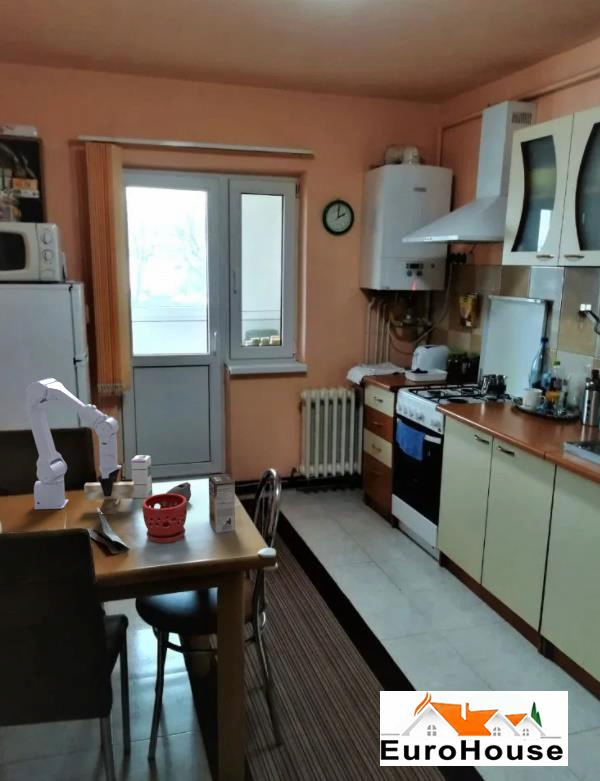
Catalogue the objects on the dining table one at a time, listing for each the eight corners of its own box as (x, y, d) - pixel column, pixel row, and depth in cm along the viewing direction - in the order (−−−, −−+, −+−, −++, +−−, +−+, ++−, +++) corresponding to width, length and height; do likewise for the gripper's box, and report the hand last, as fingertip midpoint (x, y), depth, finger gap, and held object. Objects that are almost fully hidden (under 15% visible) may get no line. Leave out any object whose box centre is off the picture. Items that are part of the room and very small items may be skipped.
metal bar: (84, 499, 207) (84, 485, 206) (86, 496, 210) (86, 482, 209) (133, 498, 209) (132, 484, 208) (134, 495, 212) (134, 481, 211)
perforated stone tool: (166, 514, 206) (166, 494, 205) (155, 511, 209) (154, 491, 208) (195, 501, 219) (195, 482, 218) (184, 498, 221) (184, 480, 220)
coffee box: (208, 522, 199) (207, 475, 196) (227, 520, 201) (227, 473, 199) (215, 533, 191) (214, 483, 188) (235, 530, 193) (235, 481, 190)
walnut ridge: (100, 514, 205) (99, 502, 204) (105, 503, 215) (105, 492, 214) (115, 513, 206) (115, 502, 205) (120, 503, 215) (120, 492, 215)
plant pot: (142, 531, 192) (141, 494, 190) (185, 527, 195) (184, 491, 193) (144, 548, 179) (142, 509, 177) (189, 543, 183) (188, 505, 181)
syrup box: (148, 498, 221) (147, 459, 219) (132, 497, 221) (130, 459, 219) (152, 492, 227) (151, 455, 224) (136, 492, 227) (135, 454, 224)
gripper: (116, 459, 200) (118, 499, 203) (124, 447, 214) (125, 485, 217) (94, 459, 199) (96, 499, 202) (103, 448, 214) (104, 485, 216)
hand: (110, 492), depth 209 cm, fingers open, 7 cm apart
